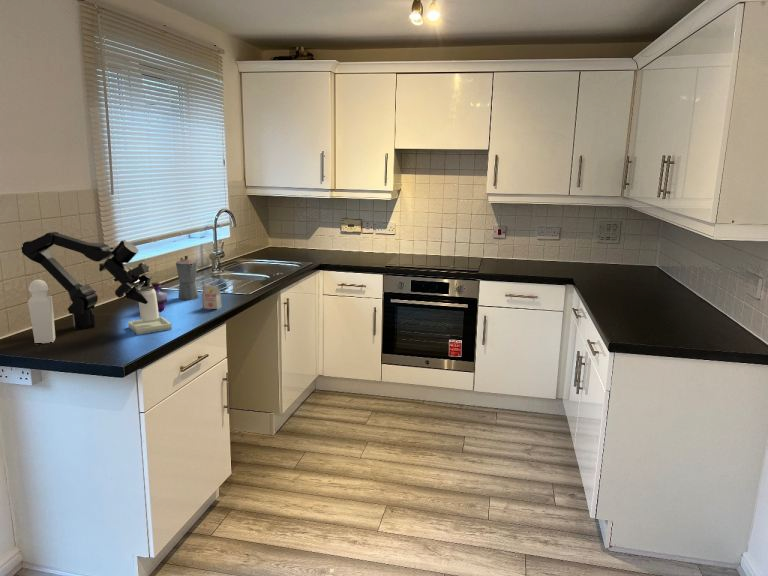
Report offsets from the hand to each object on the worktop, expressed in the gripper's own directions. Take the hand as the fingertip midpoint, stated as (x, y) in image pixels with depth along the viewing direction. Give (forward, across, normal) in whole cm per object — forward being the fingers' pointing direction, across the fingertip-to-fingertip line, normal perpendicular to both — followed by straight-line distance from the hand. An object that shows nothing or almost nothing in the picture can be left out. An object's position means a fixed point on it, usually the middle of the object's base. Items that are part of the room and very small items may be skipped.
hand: (150, 301), depth 212 cm
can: (+4, +1, +6) cm, 8 cm away
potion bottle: (0, +27, +15) cm, 31 cm away
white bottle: (-13, -18, +29) cm, 37 cm away
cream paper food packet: (+16, +32, -1) cm, 35 cm away
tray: (+7, 0, +8) cm, 11 cm away
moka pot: (+3, +50, +12) cm, 52 cm away
